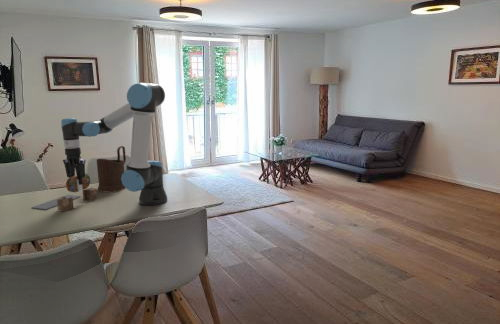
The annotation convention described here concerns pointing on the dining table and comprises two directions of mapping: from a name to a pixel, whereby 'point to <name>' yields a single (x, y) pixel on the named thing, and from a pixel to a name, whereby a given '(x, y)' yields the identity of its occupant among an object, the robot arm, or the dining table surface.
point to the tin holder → (67, 203)
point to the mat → (53, 203)
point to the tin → (72, 183)
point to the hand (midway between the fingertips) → (77, 190)
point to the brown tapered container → (111, 173)
